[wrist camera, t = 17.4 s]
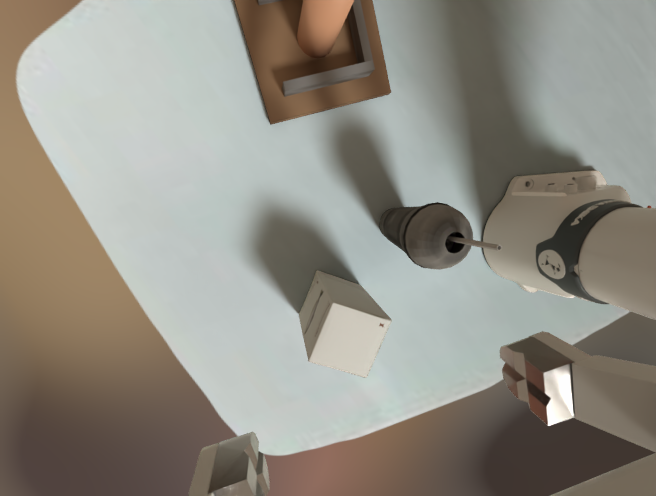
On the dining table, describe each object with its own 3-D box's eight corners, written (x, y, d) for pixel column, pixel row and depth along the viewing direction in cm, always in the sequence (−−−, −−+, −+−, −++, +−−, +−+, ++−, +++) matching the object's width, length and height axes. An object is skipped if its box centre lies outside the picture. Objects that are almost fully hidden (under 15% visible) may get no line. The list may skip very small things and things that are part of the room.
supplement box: (315, 268, 45) (333, 299, 32) (362, 284, 46) (395, 320, 34) (296, 314, 45) (306, 362, 33) (342, 329, 47) (368, 380, 35)
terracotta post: (328, 13, 38) (355, -64, 26) (338, 53, 39) (367, -3, 27) (292, 21, 37) (302, -54, 26) (303, 62, 38) (317, 8, 27)
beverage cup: (364, 207, 44) (438, 224, 25) (412, 191, 45) (519, 196, 26) (377, 255, 46) (455, 306, 27) (422, 239, 47) (530, 278, 27)
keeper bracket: (359, -46, 38) (368, -68, 35) (388, 94, 42) (398, 86, 38) (228, -20, 36) (223, -41, 33) (270, 124, 40) (270, 118, 36)
